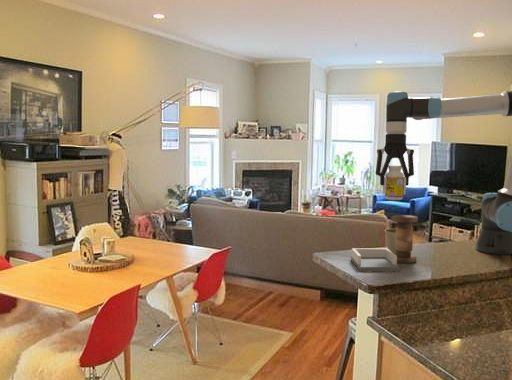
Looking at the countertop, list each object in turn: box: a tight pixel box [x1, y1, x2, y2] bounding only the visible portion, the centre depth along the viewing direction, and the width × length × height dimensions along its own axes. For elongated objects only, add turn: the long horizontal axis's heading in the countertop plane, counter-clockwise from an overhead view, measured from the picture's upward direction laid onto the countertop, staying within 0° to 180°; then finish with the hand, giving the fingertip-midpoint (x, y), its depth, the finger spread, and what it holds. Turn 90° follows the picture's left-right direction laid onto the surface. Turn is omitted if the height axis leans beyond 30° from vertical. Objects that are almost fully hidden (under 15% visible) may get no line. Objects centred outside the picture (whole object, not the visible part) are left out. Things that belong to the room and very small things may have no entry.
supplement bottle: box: [384, 164, 404, 201], centre depth 184 cm, size 7×7×13 cm
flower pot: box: [384, 228, 397, 254], centre depth 188 cm, size 9×9×9 cm
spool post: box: [391, 214, 419, 264], centre depth 175 cm, size 9×9×16 cm
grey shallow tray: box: [350, 247, 401, 273], centre depth 167 cm, size 13×16×4 cm
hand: (393, 193), depth 185 cm, fingers closed on supplement bottle, 7 cm apart
